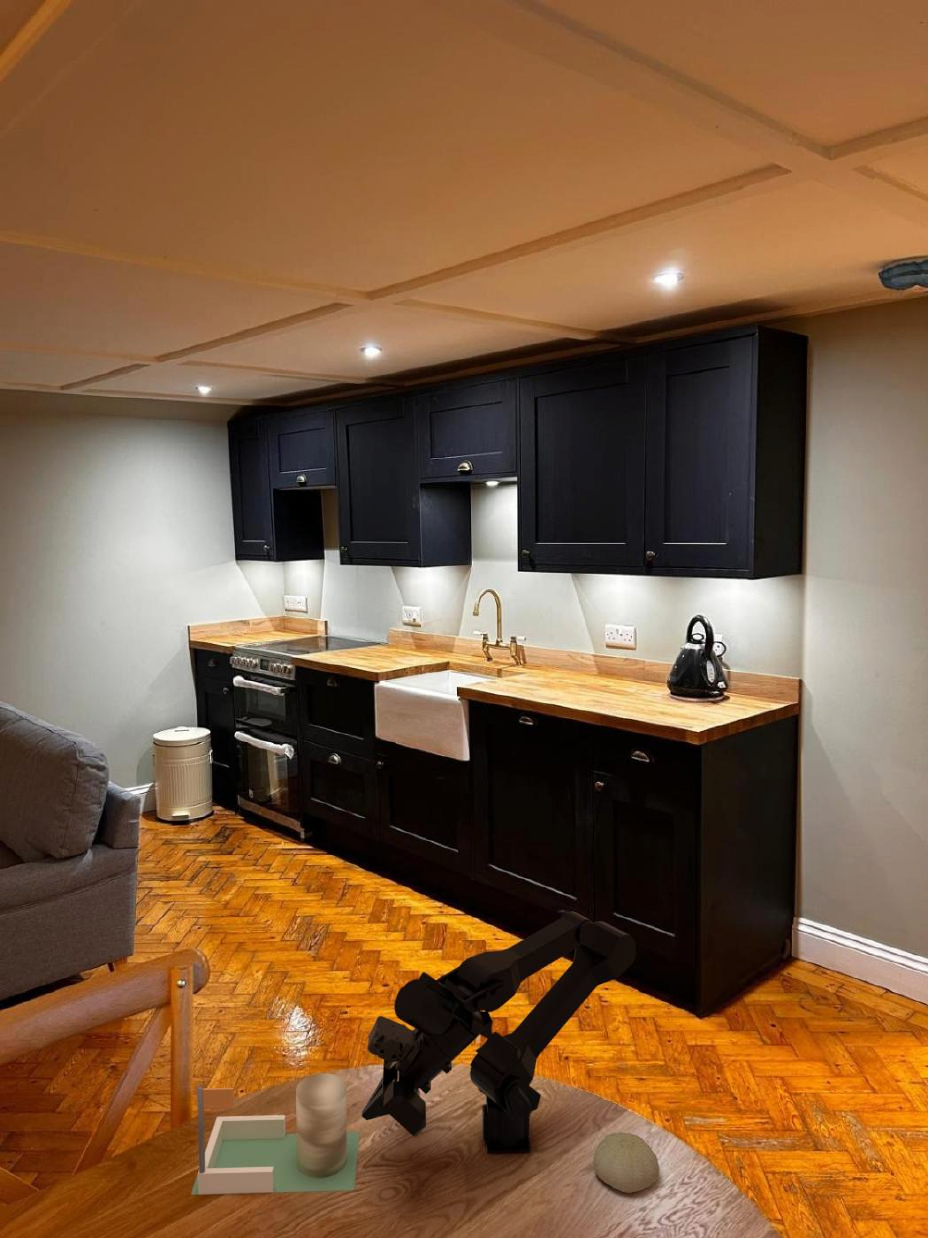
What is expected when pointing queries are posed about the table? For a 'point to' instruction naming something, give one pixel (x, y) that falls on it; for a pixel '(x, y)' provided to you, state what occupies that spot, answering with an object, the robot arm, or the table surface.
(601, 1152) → the sea urchin shell
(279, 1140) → the putting mat
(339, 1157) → the birch cylinder
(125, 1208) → the table surface
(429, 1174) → the table surface
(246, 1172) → the white frame
